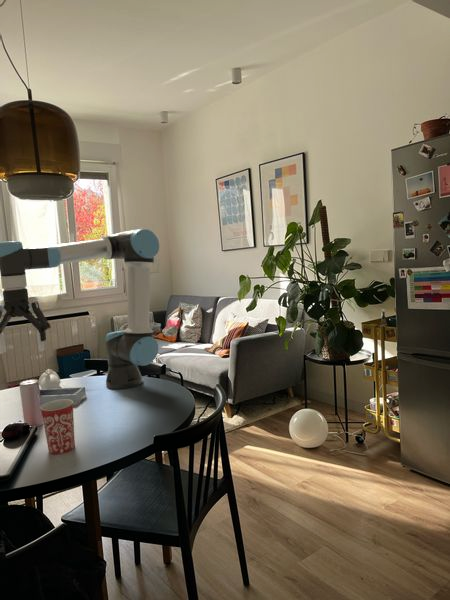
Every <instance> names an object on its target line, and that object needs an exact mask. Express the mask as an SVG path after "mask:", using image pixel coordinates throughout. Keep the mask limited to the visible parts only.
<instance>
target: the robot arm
mask: <svg viewBox="0 0 450 600" xmlns="http://www.w3.org/2000/svg"><path fill="white" fill-rule="evenodd" d="M159 250H160V241H159V239H158V237H157V235H156V233H154V232H153V231H152V230H150V229H148V228H135V229H131V230H122V231H120V232H118V233H114V234H110V235H104V236H103V235H102V236H101V237H100V239H90V240H82V241H75V242H67V243H66V242H65V243H58V244H53V245H44V246H43V245H41V246H29V247H28V246H23V243H22V241H18V240H16V241H15V240H14V241H11V240H10V241H2V242H0V284H1V288H2V290H3V291H2V298H3V302H4V304H2V303H0V319H1V318H2V316H3V318H2V319H1V320H0V355H3V354H5V353H7V346H6V338H5V337H6V335H5V333H4V332H3V331H4V329H5V328H6V326H7V324H8V323H9V322H10V320H11V319H12V318H17V317H18V318H22V317H24V318H25V319H26V320H28V322H29V323H31V324H32V325H33V327H34V328H35V329H37V330H38V331H37V332H36V337H37V344H38V345H37V347H38V352H43V351H46V347H45V346H46V345H45V341H47V335H46V334H47V333H46V331H47V330H49V329H51V324H50V322H49V321H48V320H47V318H46V316H45V315H44V313H43V311H42V310H41V308H40V305H39V302H38V301H33V302H29V292H28V288H26V287H27V286H28V284H27V276H26V270H39V269H41V270H42V269H52V268H53V269H54V268H57V267H59V266H60V265H64V264H70V263H77V262H86V261H91V260H98V259H104V260H107V261H108V260H121V259H122V260H123V263H124V265H126V267H127V326H126V328H125V329H122V330H121V329H120V330H116V331H112V332H108V333H107V334H106V335H105V345H106V355H107V356H106V357H107V365H108V370H107V375H106V378H105V379H106V380H105V385H106V386H105V387H106V388H107V389H110V390H112V389H113V390H123V389H129V388H133V387H136V386H139V385H141V384H142V383H143V376H142V374H141V371H140V369H139V366H148V365H150V364H151V363H153V361H154V360H155V359H156V358H157V357H158V353H159V344H158V341H156V339H155V338H154V330H153V329H152V328H151V327H150V300H151V299H150V297H151V295H150V292H151V289H150V287H151V286H150V285H151V284H150V283H151V282H150V281H151V278H150V277H151V276H150V275H151V270H150V269H151V267H152V266H153V265H154V264H155V263H154V260H155V257H156V256H157V254H158V253H159ZM29 309H31V310H32V312H33V313H34V315H35V316H36V317H35V316H34V315H33V313H32V312H31V311H30V310H29ZM4 310H5V313H4V315H3V311H4Z"/></svg>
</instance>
